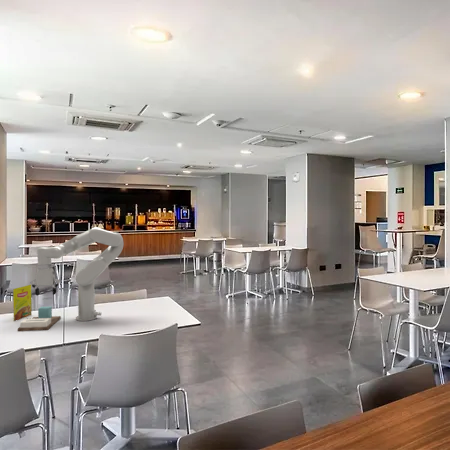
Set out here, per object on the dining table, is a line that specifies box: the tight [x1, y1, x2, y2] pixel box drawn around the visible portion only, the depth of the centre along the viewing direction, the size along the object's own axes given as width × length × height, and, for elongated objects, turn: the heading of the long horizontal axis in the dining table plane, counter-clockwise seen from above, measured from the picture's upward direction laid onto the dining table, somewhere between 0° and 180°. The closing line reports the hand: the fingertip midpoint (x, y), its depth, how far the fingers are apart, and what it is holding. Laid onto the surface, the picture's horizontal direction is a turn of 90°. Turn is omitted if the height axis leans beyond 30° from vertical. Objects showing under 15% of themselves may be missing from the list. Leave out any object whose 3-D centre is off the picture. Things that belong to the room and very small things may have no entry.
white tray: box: [19, 317, 51, 328], centre depth 215 cm, size 14×8×3 cm, turn 98°
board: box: [17, 315, 62, 332], centre depth 222 cm, size 16×24×2 cm, turn 8°
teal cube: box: [37, 305, 53, 318], centre depth 229 cm, size 6×6×6 cm
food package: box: [12, 284, 32, 322], centre depth 235 cm, size 15×1×20 cm, turn 168°
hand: (46, 294), depth 229 cm, fingers open, 9 cm apart
